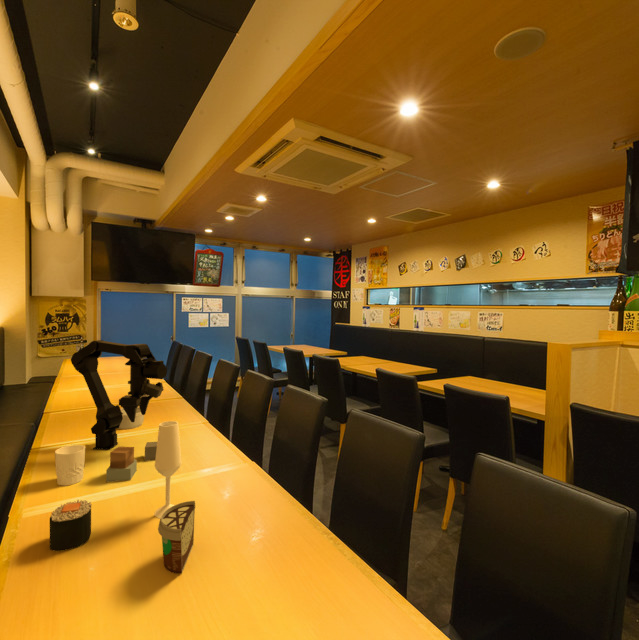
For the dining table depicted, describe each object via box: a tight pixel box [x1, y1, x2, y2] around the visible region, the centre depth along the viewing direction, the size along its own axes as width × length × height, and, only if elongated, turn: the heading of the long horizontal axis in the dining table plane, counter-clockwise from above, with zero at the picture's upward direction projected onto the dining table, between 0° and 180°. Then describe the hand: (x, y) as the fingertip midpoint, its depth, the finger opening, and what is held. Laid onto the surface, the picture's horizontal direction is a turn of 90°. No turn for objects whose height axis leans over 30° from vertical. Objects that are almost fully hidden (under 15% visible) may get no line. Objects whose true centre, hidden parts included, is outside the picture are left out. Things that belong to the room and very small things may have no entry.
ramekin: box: [118, 406, 145, 430], centre depth 170 cm, size 13×13×7 cm
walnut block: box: [109, 446, 135, 468], centre depth 120 cm, size 5×5×5 cm
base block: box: [105, 459, 138, 483], centre depth 120 cm, size 7×7×4 cm
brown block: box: [144, 441, 157, 462], centre depth 135 cm, size 5×5×5 cm
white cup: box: [54, 444, 86, 486], centre depth 116 cm, size 8×8×10 cm
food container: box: [157, 500, 196, 575], centre depth 81 cm, size 12×6×10 cm, turn 5°
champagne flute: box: [154, 420, 183, 519], centre depth 100 cm, size 7×7×24 cm
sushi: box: [49, 499, 93, 552], centre depth 87 cm, size 8×8×8 cm
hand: (138, 418), depth 140 cm, fingers open, 9 cm apart
